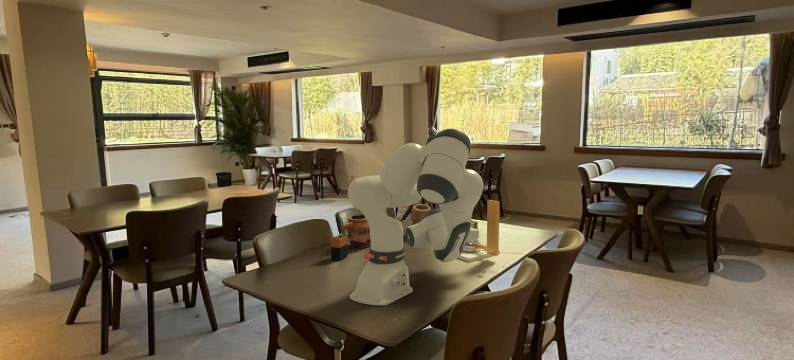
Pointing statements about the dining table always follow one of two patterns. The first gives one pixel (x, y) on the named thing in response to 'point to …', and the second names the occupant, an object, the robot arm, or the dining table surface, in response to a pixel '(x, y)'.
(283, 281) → the dining table surface
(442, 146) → the robot arm
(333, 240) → the battery
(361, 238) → the decorative planter
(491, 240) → the orange post with disc
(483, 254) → the base plate
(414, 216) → the stone cup
